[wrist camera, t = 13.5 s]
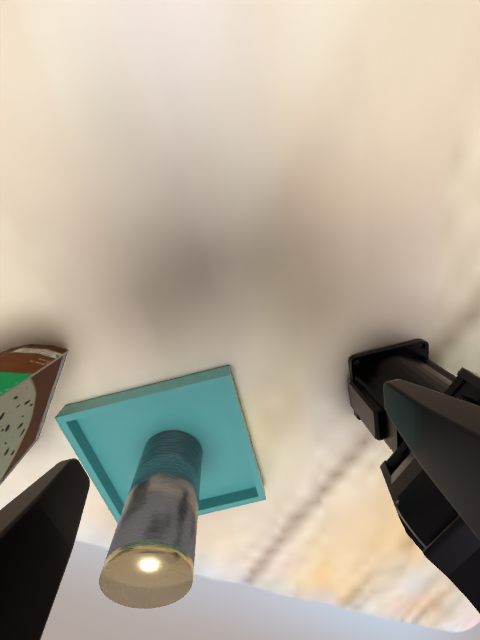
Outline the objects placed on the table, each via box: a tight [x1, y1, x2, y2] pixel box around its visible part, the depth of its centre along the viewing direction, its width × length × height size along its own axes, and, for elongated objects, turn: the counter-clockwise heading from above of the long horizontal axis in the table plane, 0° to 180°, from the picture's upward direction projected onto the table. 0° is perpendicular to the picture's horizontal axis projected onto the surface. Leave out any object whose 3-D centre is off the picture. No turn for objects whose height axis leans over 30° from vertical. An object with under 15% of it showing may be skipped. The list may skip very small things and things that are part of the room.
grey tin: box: [99, 430, 203, 608], centre depth 19 cm, size 5×5×9 cm
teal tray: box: [55, 366, 266, 523], centre depth 23 cm, size 14×14×2 cm
